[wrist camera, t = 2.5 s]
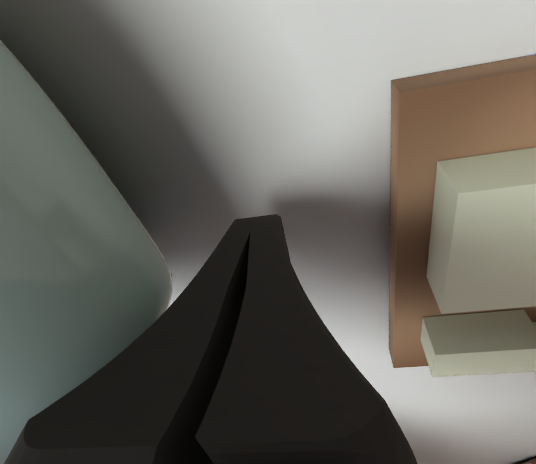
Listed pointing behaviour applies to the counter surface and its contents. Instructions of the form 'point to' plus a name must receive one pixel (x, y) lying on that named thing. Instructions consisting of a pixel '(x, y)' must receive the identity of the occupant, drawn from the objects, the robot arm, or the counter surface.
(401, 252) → the board
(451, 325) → the panel
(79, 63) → the counter surface
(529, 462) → the sauce bottle
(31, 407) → the cup
